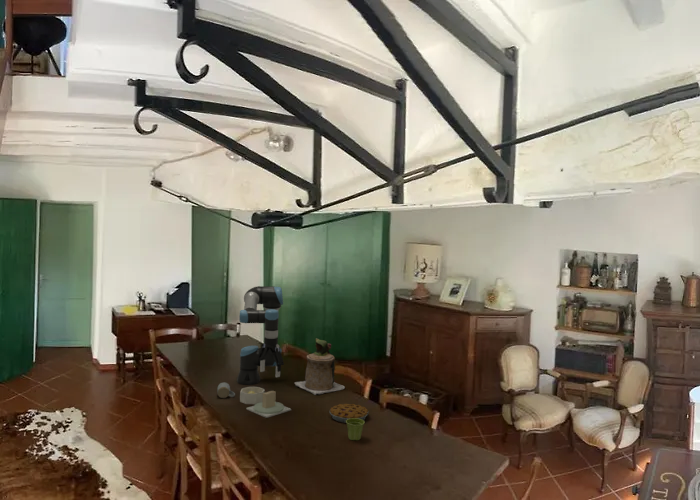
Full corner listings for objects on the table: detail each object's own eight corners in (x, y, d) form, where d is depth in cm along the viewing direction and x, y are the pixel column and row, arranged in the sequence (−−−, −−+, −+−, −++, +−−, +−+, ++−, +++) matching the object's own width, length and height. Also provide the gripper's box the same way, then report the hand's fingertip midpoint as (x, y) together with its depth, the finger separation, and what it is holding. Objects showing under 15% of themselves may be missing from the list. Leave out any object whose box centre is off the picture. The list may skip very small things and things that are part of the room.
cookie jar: (316, 396, 338) (318, 345, 336) (293, 386, 356) (294, 337, 354) (346, 389, 354) (348, 340, 352) (322, 379, 373) (324, 333, 371)
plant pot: (352, 433, 281) (352, 416, 281) (367, 437, 276) (368, 421, 276) (341, 438, 274) (342, 421, 273) (357, 443, 268) (357, 426, 268)
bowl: (254, 394, 335) (254, 385, 335) (268, 400, 326) (268, 390, 326) (235, 399, 325) (236, 390, 324) (250, 405, 316) (250, 395, 315)
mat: (270, 402, 323) (270, 400, 323) (291, 410, 311) (291, 408, 311) (246, 409, 310) (246, 407, 310) (266, 417, 298) (266, 416, 298)
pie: (373, 413, 311) (373, 405, 311) (361, 427, 291) (361, 417, 290) (337, 408, 318) (337, 399, 318) (323, 420, 298) (323, 411, 297)
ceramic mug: (217, 399, 325) (217, 386, 325) (217, 394, 333) (217, 382, 333) (235, 398, 327) (235, 386, 327) (234, 394, 335) (235, 382, 335)
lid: (270, 401, 322) (271, 386, 322) (289, 408, 311) (290, 393, 311) (247, 407, 310) (247, 392, 309) (266, 416, 298) (267, 399, 298)
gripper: (252, 334, 314) (251, 370, 315) (280, 342, 297) (279, 380, 298) (262, 332, 319) (261, 368, 321) (290, 340, 303) (289, 377, 304)
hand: (269, 374), depth 309 cm, fingers open, 13 cm apart
